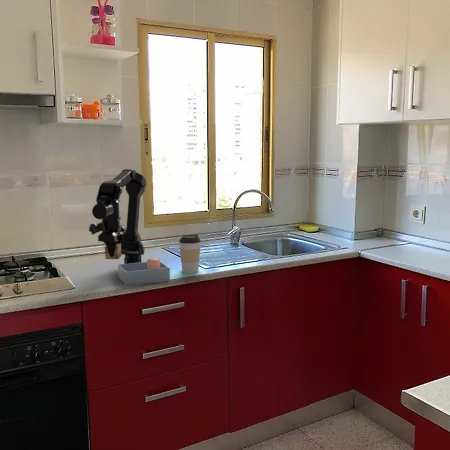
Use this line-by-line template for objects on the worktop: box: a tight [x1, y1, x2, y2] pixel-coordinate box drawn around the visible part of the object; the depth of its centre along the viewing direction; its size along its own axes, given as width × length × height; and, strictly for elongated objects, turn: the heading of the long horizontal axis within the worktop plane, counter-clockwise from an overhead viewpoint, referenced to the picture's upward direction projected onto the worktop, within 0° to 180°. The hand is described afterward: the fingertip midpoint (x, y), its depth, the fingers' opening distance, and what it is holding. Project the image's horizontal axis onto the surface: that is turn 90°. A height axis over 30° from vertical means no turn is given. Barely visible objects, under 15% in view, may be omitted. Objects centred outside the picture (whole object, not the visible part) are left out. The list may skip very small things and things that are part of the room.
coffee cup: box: [178, 234, 202, 274], centre depth 210 cm, size 9×9×15 cm
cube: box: [104, 244, 122, 260], centre depth 195 cm, size 5×5×5 cm
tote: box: [117, 260, 171, 286], centre depth 199 cm, size 17×13×5 cm
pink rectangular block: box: [146, 257, 161, 270], centre depth 198 cm, size 5×5×7 cm
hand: (113, 254), depth 195 cm, fingers closed on cube, 5 cm apart
